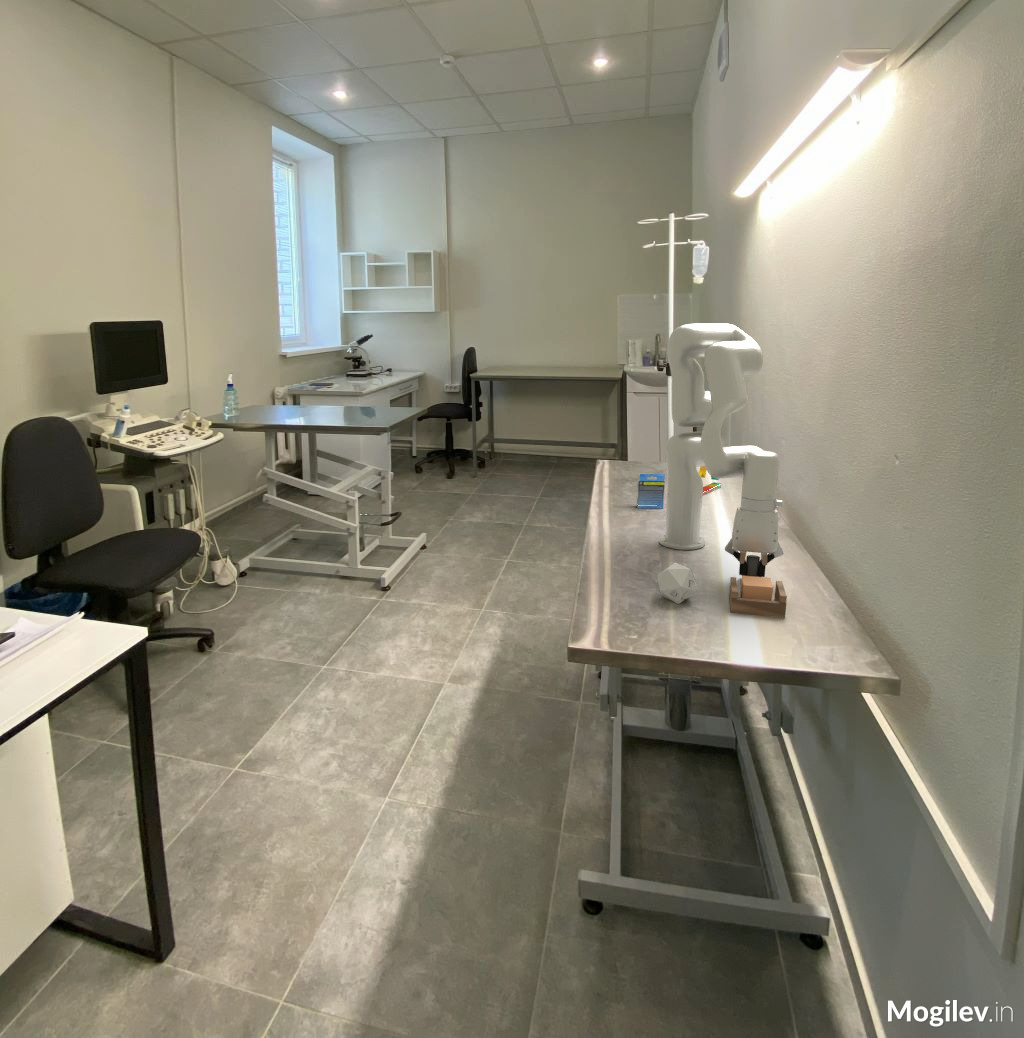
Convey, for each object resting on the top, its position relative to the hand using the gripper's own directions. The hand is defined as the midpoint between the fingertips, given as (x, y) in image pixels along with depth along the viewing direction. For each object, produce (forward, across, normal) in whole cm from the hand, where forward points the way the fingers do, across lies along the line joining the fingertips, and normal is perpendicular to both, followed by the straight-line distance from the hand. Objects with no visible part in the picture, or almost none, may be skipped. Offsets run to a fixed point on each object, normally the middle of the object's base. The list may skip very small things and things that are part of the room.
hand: (751, 577), depth 157 cm
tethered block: (+1, 0, +8) cm, 8 cm away
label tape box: (+1, +29, -66) cm, 72 cm away
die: (+1, +17, +16) cm, 23 cm away
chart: (+1, +12, -91) cm, 91 cm away
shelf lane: (+1, 0, +16) cm, 16 cm away
